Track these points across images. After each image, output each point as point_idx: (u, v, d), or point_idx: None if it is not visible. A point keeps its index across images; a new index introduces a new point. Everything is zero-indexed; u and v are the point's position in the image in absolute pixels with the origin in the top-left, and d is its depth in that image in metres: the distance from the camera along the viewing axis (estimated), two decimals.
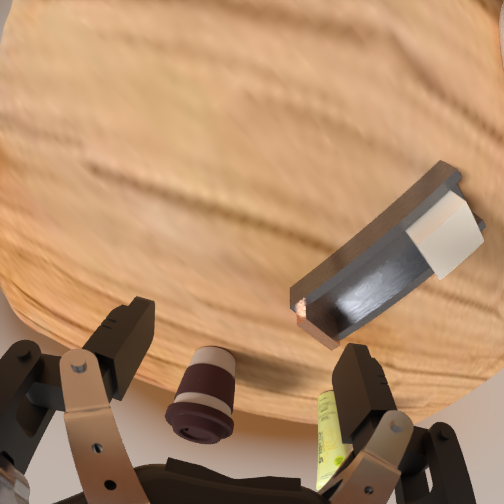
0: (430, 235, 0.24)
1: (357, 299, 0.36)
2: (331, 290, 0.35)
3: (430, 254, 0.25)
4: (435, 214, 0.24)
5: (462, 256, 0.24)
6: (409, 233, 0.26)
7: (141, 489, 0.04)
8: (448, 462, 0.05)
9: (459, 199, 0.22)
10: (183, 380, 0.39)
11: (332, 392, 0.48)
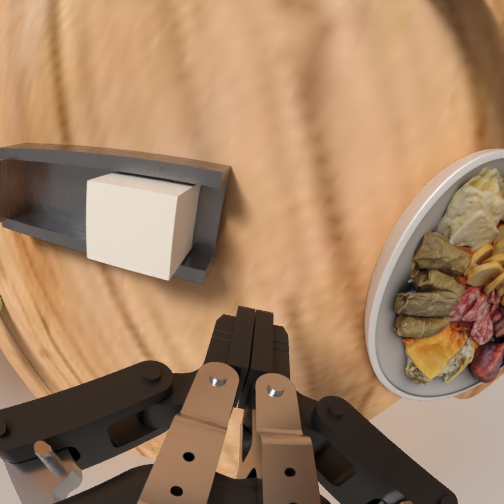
0: (106, 186, 0.17)
1: (46, 211, 0.25)
2: (37, 176, 0.23)
3: (92, 208, 0.18)
4: (142, 182, 0.19)
5: (127, 263, 0.19)
6: (106, 175, 0.19)
7: None
8: (358, 439, 0.06)
9: (178, 192, 0.18)
10: None
11: None
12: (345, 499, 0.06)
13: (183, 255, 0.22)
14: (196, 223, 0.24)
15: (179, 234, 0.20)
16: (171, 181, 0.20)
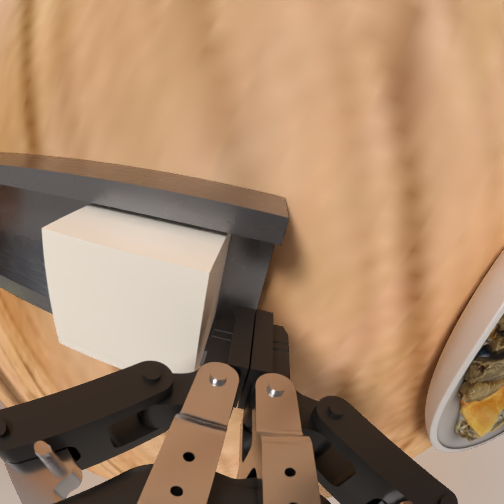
0: (72, 241, 0.09)
1: (13, 247, 0.16)
2: None
3: (56, 275, 0.10)
4: (137, 231, 0.11)
5: (122, 361, 0.11)
6: (78, 211, 0.11)
7: None
8: (358, 439, 0.06)
9: (208, 257, 0.10)
10: None
11: None
12: (345, 499, 0.06)
13: (207, 336, 0.14)
14: (228, 283, 0.16)
15: (206, 320, 0.12)
16: (187, 224, 0.12)
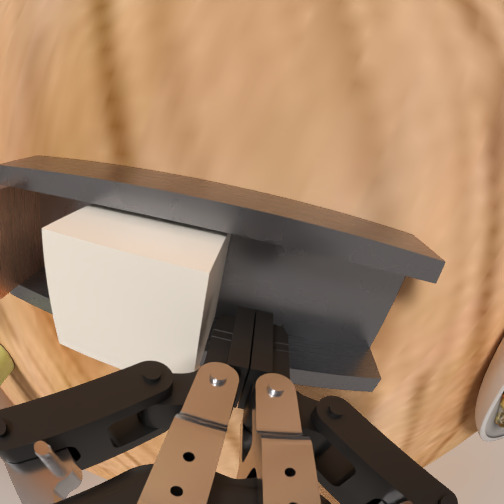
0: (73, 241, 0.09)
1: None
2: None
3: (56, 276, 0.10)
4: (137, 231, 0.11)
5: (122, 362, 0.11)
6: (78, 211, 0.11)
7: None
8: (358, 439, 0.06)
9: (207, 258, 0.10)
10: None
11: (4, 352, 0.23)
12: (345, 499, 0.06)
13: (207, 336, 0.14)
14: (360, 311, 0.16)
15: (206, 321, 0.12)
16: (187, 224, 0.12)
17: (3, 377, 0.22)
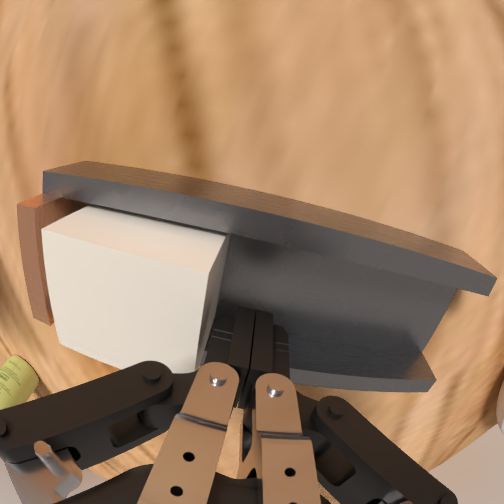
0: (72, 242, 0.09)
1: None
2: None
3: (55, 276, 0.10)
4: (137, 232, 0.11)
5: (122, 362, 0.11)
6: (78, 212, 0.11)
7: None
8: (358, 439, 0.06)
9: (207, 258, 0.10)
10: None
11: (29, 368, 0.23)
12: (345, 499, 0.06)
13: (207, 336, 0.14)
14: (419, 320, 0.16)
15: (206, 320, 0.12)
16: (186, 224, 0.12)
17: (28, 394, 0.22)
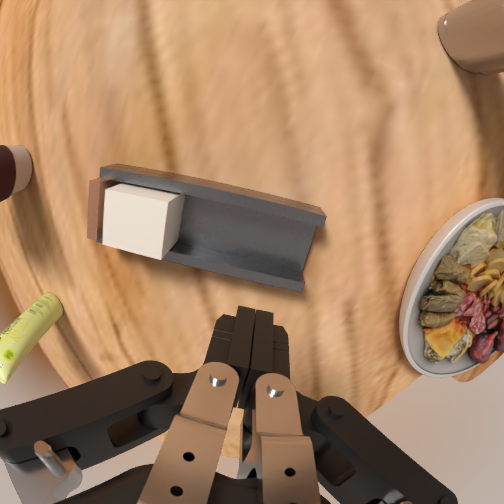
0: (119, 193, 0.25)
1: None
2: None
3: (109, 209, 0.26)
4: (144, 192, 0.27)
5: (132, 247, 0.27)
6: (118, 185, 0.28)
7: None
8: (358, 439, 0.06)
9: (169, 199, 0.26)
10: None
11: (57, 301, 0.39)
12: (345, 499, 0.06)
13: (171, 244, 0.31)
14: (293, 247, 0.33)
15: (169, 228, 0.28)
16: (164, 191, 0.29)
17: (55, 319, 0.38)
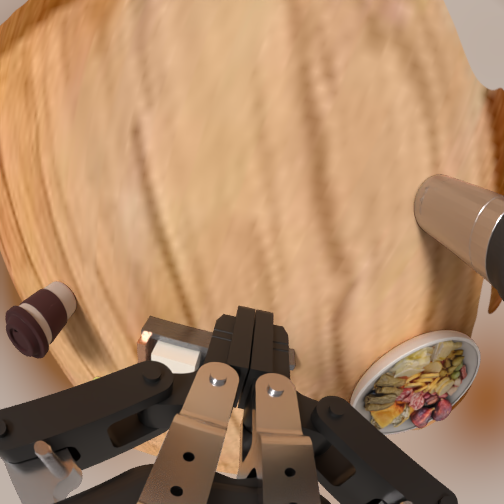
0: (161, 357, 0.40)
1: None
2: None
3: None
4: (177, 352, 0.41)
5: None
6: (157, 344, 0.42)
7: None
8: (358, 439, 0.06)
9: (194, 361, 0.41)
10: (38, 296, 0.38)
11: None
12: (345, 499, 0.06)
13: None
14: None
15: None
16: None
17: None
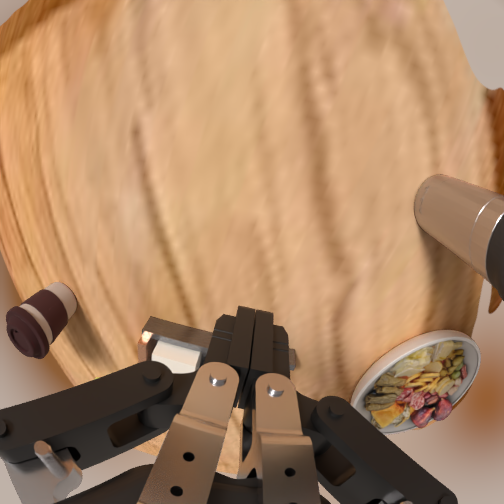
0: (162, 357, 0.40)
1: None
2: None
3: None
4: (177, 353, 0.42)
5: None
6: (157, 344, 0.42)
7: None
8: (358, 439, 0.06)
9: (195, 361, 0.41)
10: (39, 297, 0.38)
11: None
12: (345, 499, 0.06)
13: None
14: None
15: None
16: None
17: None
